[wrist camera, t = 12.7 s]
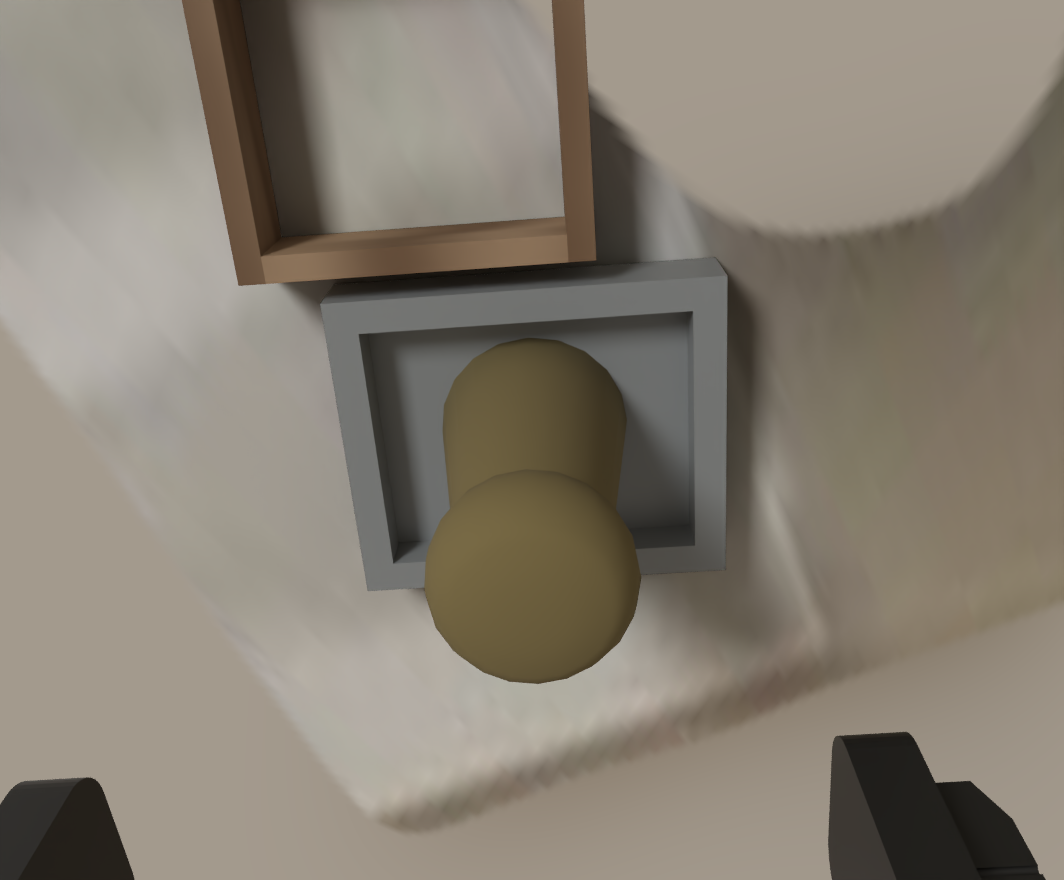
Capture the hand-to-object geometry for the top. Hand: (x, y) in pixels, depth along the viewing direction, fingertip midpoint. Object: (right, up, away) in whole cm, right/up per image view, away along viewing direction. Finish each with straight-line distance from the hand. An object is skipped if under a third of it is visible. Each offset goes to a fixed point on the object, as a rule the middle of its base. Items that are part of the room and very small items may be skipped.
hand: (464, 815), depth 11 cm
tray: (+1, +5, +22) cm, 23 cm away
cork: (+1, +5, +22) cm, 22 cm away
